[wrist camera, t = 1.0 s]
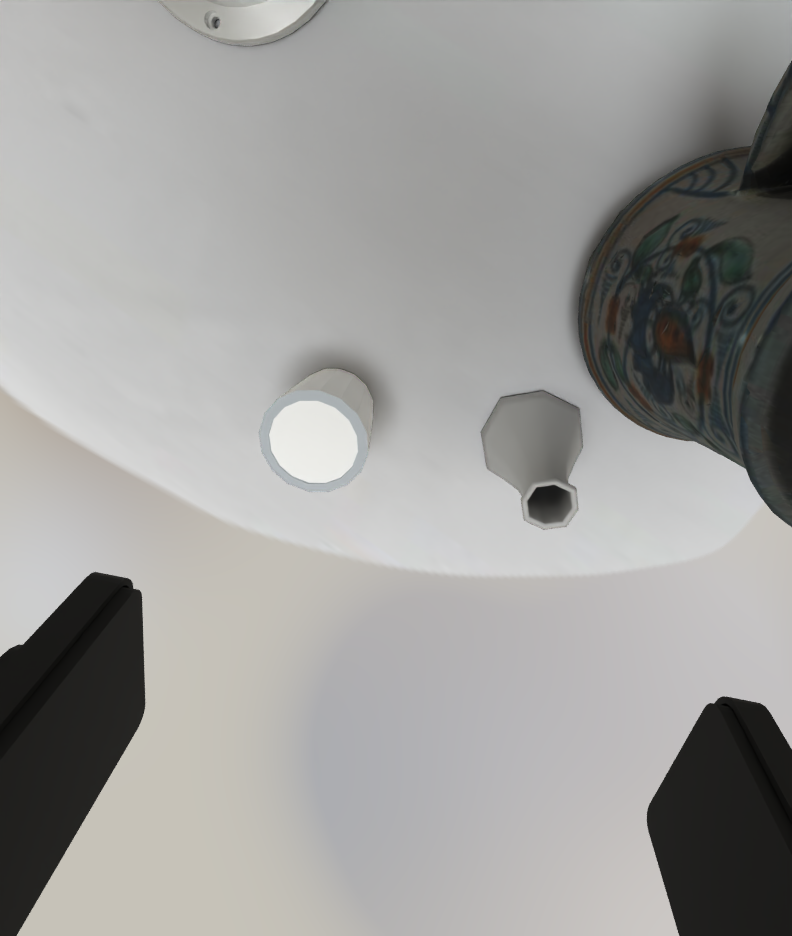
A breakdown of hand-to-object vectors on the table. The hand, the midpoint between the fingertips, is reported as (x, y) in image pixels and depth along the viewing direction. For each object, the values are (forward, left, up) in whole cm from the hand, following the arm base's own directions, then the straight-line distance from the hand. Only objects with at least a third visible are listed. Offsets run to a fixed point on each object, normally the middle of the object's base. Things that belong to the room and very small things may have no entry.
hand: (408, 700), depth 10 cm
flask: (+10, -1, -33) cm, 34 cm away
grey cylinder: (-1, -10, -33) cm, 34 cm away
